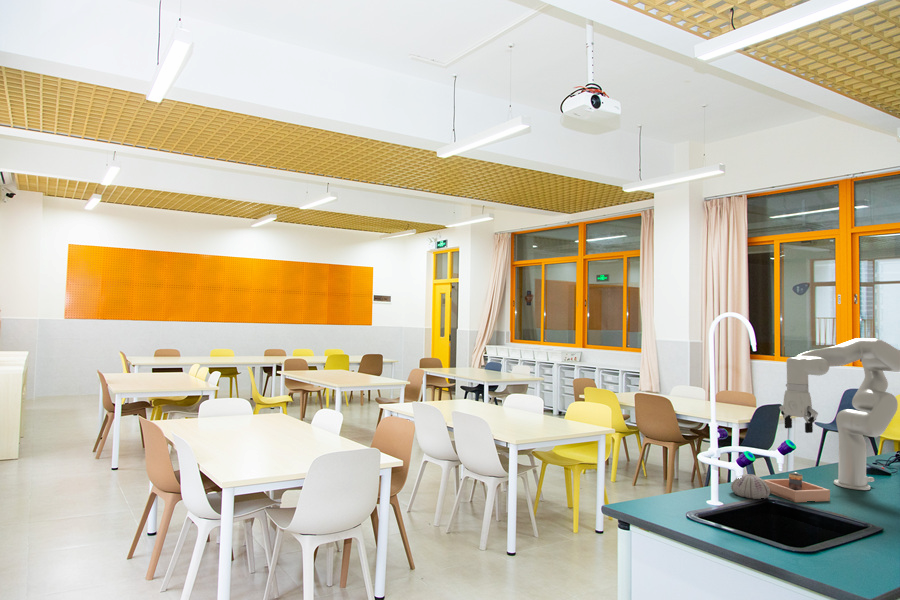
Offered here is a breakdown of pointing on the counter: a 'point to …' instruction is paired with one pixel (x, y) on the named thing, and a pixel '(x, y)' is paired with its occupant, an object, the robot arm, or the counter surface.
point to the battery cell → (795, 481)
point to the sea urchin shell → (750, 487)
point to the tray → (804, 495)
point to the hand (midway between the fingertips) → (798, 430)
